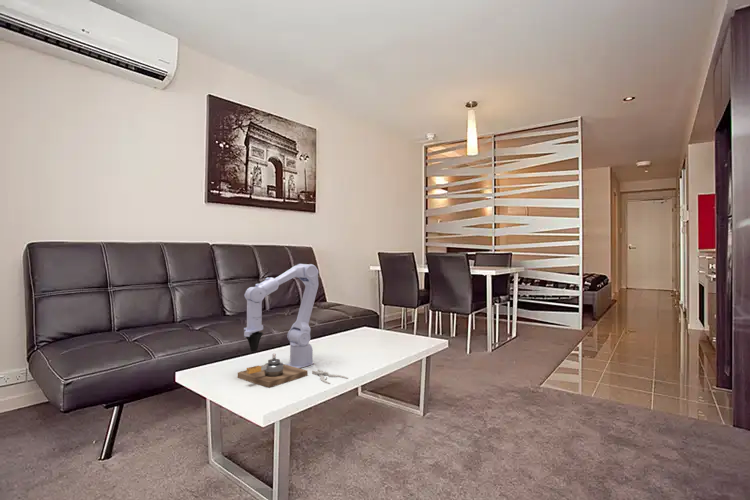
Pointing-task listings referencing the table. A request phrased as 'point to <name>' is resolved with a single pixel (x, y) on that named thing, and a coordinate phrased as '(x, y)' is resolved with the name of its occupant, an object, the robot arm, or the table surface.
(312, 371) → the pliers
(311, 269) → the robot arm
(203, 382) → the table surface
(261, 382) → the bench block
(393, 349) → the table surface
